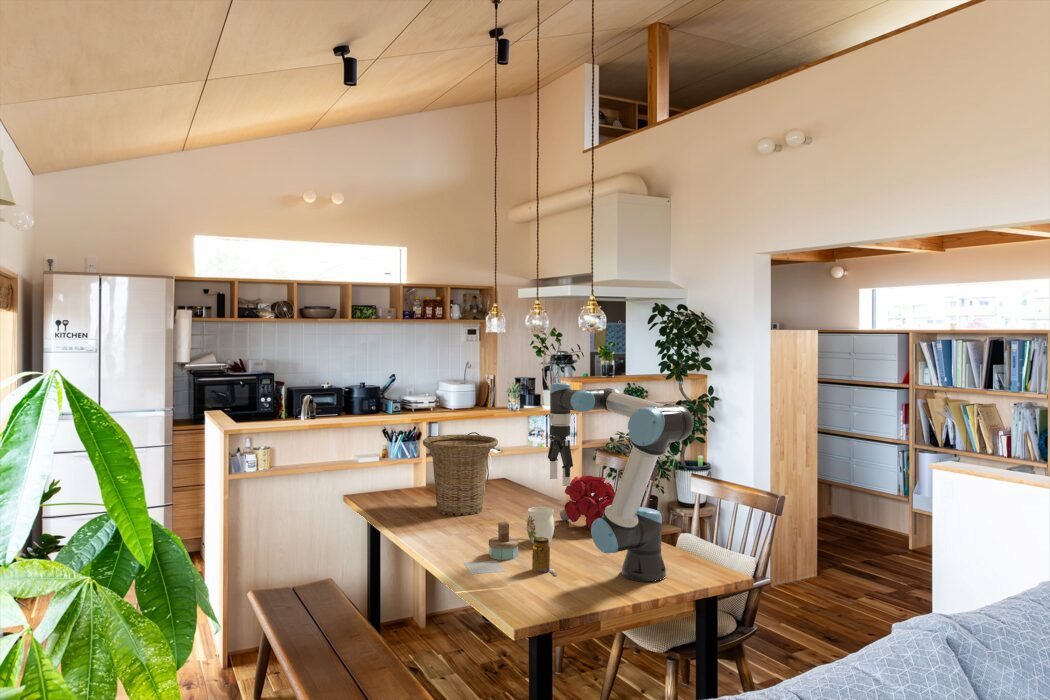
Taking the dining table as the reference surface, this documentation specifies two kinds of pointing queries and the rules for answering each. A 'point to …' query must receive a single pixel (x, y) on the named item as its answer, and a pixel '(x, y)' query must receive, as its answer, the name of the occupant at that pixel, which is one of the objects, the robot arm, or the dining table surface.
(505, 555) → the bowl
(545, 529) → the pitcher
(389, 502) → the dining table surface
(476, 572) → the mat
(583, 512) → the bouquet
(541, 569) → the condiment
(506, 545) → the lid
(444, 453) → the wicker basket
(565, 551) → the dining table surface
